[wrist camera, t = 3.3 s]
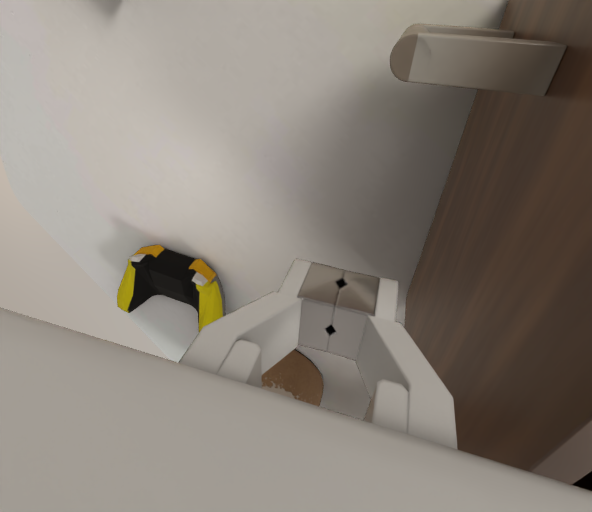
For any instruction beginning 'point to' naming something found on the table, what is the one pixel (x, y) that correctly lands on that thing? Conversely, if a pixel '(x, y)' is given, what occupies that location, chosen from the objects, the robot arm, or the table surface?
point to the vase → (295, 379)
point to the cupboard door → (512, 236)
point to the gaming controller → (172, 282)
